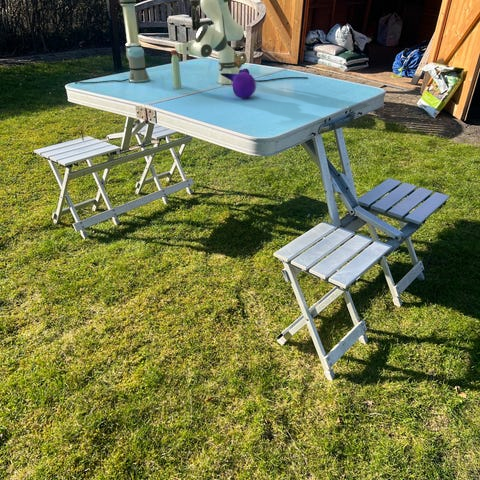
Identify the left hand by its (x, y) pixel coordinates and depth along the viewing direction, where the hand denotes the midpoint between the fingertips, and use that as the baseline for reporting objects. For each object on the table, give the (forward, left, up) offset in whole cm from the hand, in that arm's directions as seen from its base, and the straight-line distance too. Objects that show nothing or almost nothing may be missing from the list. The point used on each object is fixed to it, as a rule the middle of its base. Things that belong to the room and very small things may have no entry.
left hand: (196, 30), depth 347 cm
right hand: (-23, -73, -1) cm, 77 cm away
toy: (+7, -90, -31) cm, 96 cm away
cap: (-27, -51, -7) cm, 58 cm away
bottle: (-27, -51, -31) cm, 66 cm away
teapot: (+31, +1, -31) cm, 44 cm away
